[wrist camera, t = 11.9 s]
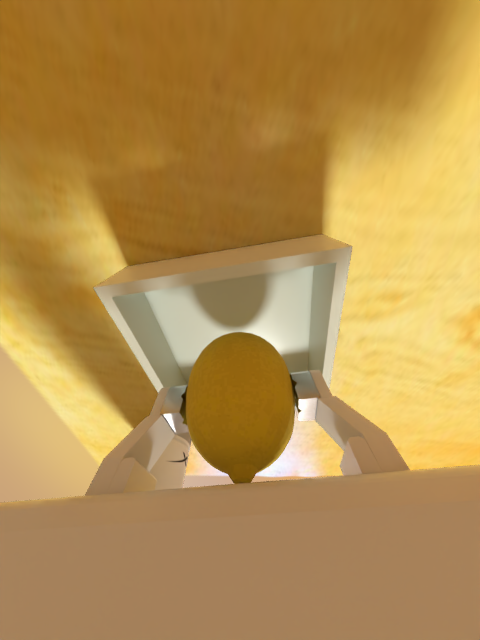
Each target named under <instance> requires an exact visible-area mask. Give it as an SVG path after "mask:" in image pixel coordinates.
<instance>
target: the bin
mask: <svg viewBox="0 0 480 640" xmlns="http://www.w3.org/2000/svg"><path fill="white" fill-rule="evenodd" d="M351 252H352V246H351V245H348V244H346V243H343V242H341V241H338V240H336V239H333V238H331V237H328V236H326V235H323V234H319V235H313V236H307V237H301V238H295V239H289V240H283V241H277V242H271V243H265V244H259V245H253V246H247V247H241V248H235V249H229V250H223V251H217V252H211V253H205V254H199V255H193V256H186V257H180V258H174V259H168V260H162V261H156V262H150V263H144V264H138V265H132V266H127V267H126V268H124V269H122V270H121V271H119V272H117V273H116V274H114V275H113V276H111V277H109V278H108V279H106V280H105V281H103V282H101V283H100V284H98V285H96V286H95V287H93V289H94V290H95V292H96V293H97V295H98V297H99V298H100V300H101V301H102V303H103V305H104V306H105V308H106V309H107V311H108V313H109V314H110V316H111V318H112V319H113V321H114V322H115V324H116V326H117V327H118V329H119V330H120V332H121V334H122V335H123V337H124V339H125V340H126V342H127V343H128V345H129V347H130V348H131V350H132V351H133V353H134V355H135V356H136V358H137V360H138V361H139V363H140V364H141V366H142V368H143V369H144V371H145V372H146V374H147V376H148V377H149V379H150V381H151V382H152V384H153V385H154V387H155V389H156V390H157V392H158V393H159V391H160V389H161V388H165V387H174V386H185V385H188V382H189V377H190V374H191V370H192V368H193V366H194V364H195V362H196V360H197V358H198V357H199V355H200V354H201V352H202V351H203V349H204V348H205V347H206V346H207V345H209V344H210V343H211V342H212V341H213V340H215V339H216V338H218V337H220V336H222V335H225V334H229V333H233V332H246V333H252V334H255V335H257V336H260V337H262V338H263V339H265V340H266V341H268V342H269V343H271V344H272V345H273V346H274V347H275V349H276V350H277V351H278V352H279V354H280V355H281V356H282V358H283V360H284V361H285V363H286V366H287V368H288V371H289V374H290V373H293V372H301V371H310V370H320V372H321V374H322V376H323V378H324V380H325V382H326V384H327V386H328V388H330V381H331V375H332V369H333V363H334V357H335V351H336V344H337V338H338V332H339V326H340V320H341V314H342V307H343V301H344V295H345V289H346V283H347V277H348V270H349V264H350V258H351Z"/></svg>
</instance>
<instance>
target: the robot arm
mask: <svg viewBox="0 0 480 640" xmlns="http://www.w3.org/2000/svg"><path fill="white" fill-rule="evenodd" d="M290 377H291V381H292V385H293V389H294V397H295V411H296V415H297V418H298V421H309V420H316V422H317V423H318V424H319V425H320V426H321V427H322V428H323V429H324V430H325V431H326V433H327V434H328V435H329V436H330V437H331V438H332V439H333V440H334V441H335V442H336V443H337V444H338V445H339V446H340V447H341V448H342V449H343V450H344V454H343V458H342V461H341V464H340V468H341V470H342V473H343V475H342V476H330V477H317V478H304V479H292V480H279V481H266V482H253V483H240V484H228V485H216V486H203V487H189V488H177V489H164V490H155V486H156V483H157V480H156V478H155V477H154V476H153V475H152V474H151V473H150V470H151V469H152V467H153V466H154V465H155V463H156V462H157V460H158V459H159V457H160V456H161V455H162V453H163V452H164V450H165V449H166V447H167V446H168V445H169V443H170V442H171V440H172V439H173V437H174V436H175V434H179V433H187V432H189V430H188V425H187V419H186V394H187V388H188V385H185V386H174V387H165V388H161V389H160V391H159V393H158V396H157V398H156V400H155V403H154V405H153V408H152V410H151V413H150V415H149V416H147V417H145V418H144V419H143V420H142V421H141V422H140V423H139V424H138V425H137V426H136V427H135V428H134V429H133V430H132V431H131V432H130V433H129V434H128V435H127V436H126V437H125V438H124V439H123V440H122V441H121V442H120V443H119V444H118V445H117V446H116V447H115V448H114V449H113V450H112V451H111V452H110V453H109V454H108V455H107V456H106V457H105V458H104V459H103V461H102V463H101V465H100V467H99V469H98V471H97V473H96V475H95V477H94V479H93V480H92V483H91V484H90V486H89V488H88V490H87V492H86V494H85V496H75V497H63V498H51V499H37V500H25V501H13V502H0V640H480V465H470V466H457V467H444V468H432V469H419V470H410V469H409V468H408V466H407V465H406V463H405V461H404V460H403V458H402V457H401V455H400V454H399V452H398V451H397V449H396V447H395V446H394V444H393V443H392V441H391V440H390V438H389V437H388V435H387V433H385V432H384V431H383V430H381V429H380V428H379V427H377V426H376V425H374V424H373V423H372V422H370V421H369V420H368V419H366V418H365V417H364V416H362V415H361V414H359V413H358V412H357V411H355V410H354V409H353V408H351V407H350V406H348V405H347V404H346V403H344V402H343V401H342V400H340V399H339V398H338V397H336V396H332V394H331V392H330V390H329V388H328V386H327V384H326V382H325V380H324V378H323V376H322V374H321V372H320V370H310V371H301V372H293V373H290Z"/></svg>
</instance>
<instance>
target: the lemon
mask: <svg viewBox="0 0 480 640" xmlns="http://www.w3.org/2000/svg"><path fill="white" fill-rule="evenodd" d="M294 416H295V397H294V389H293V385H292V381H291V377H290V374H289V371H288V368H287V366H286V363H285V361H284V360H283V358H282V356H281V355H280V354H279V352H278V351H277V350H276V349H275V347H274V346H273V345H272V344H271V343H269V342H268V341H266V340H265V339H263V338H262V337H260V336H257V335H255V334H252V333H246V332H233V333H229V334H225V335H222V336H220V337H218V338H216V339H215V340H213V341H212V342H211V343H210V344H209V345H207V346H206V347H205V348H204V349H203V351H202V352H201V354H200V355H199V357H198V358H197V360H196V362H195V364H194V366H193V368H192V370H191V374H190V377H189V382H188V388H187V394H186V419H187V425H188V430H189V433H190V437H191V439H192V442H193V444H194V446H195V447H196V449H197V451H198V452H199V453H200V454H201V455H202V457H203V458H204V459H205V460H206V461H207V462H208V463H209V464H210V465H211V466H213V467H214V468H216V469H218V470H220V471H222V472H224V473H227V474H228V475H229V477H230V478H231V479H232V481H233V483H235V484H240V483H250V482H251V481H252V479H253V478H254V476H255V474H256V473H258V472H260V471H262V470H264V469H265V468H267V467H269V466H270V465H271V464H272V463H273V462H274V461H275V460H277V459H278V458H279V456H280V455H281V454H282V452H283V451H284V449H285V447H286V446H287V444H288V442H289V440H290V438H291V435H292V432H293V426H294Z"/></svg>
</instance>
